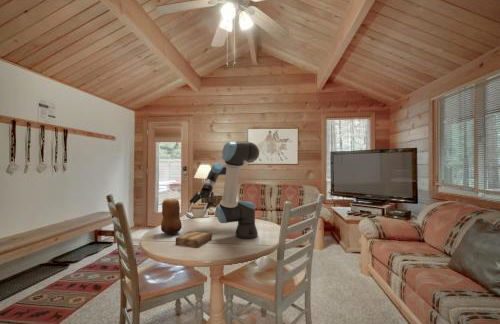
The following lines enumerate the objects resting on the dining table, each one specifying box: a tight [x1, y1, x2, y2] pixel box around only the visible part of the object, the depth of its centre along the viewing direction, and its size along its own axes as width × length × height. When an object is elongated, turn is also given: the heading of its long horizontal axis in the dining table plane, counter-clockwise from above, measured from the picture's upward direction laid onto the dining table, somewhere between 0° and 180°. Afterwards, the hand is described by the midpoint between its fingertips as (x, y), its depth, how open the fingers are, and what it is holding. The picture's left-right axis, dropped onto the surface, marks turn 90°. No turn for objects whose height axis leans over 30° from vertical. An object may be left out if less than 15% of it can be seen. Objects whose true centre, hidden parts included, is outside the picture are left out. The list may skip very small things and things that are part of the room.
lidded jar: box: [191, 203, 208, 219], centre depth 180 cm, size 11×11×9 cm
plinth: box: [175, 230, 213, 249], centre depth 162 cm, size 16×16×4 cm
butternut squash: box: [160, 198, 183, 236], centre depth 179 cm, size 14×13×25 cm
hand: (196, 211), depth 177 cm, fingers closed on lidded jar, 11 cm apart
